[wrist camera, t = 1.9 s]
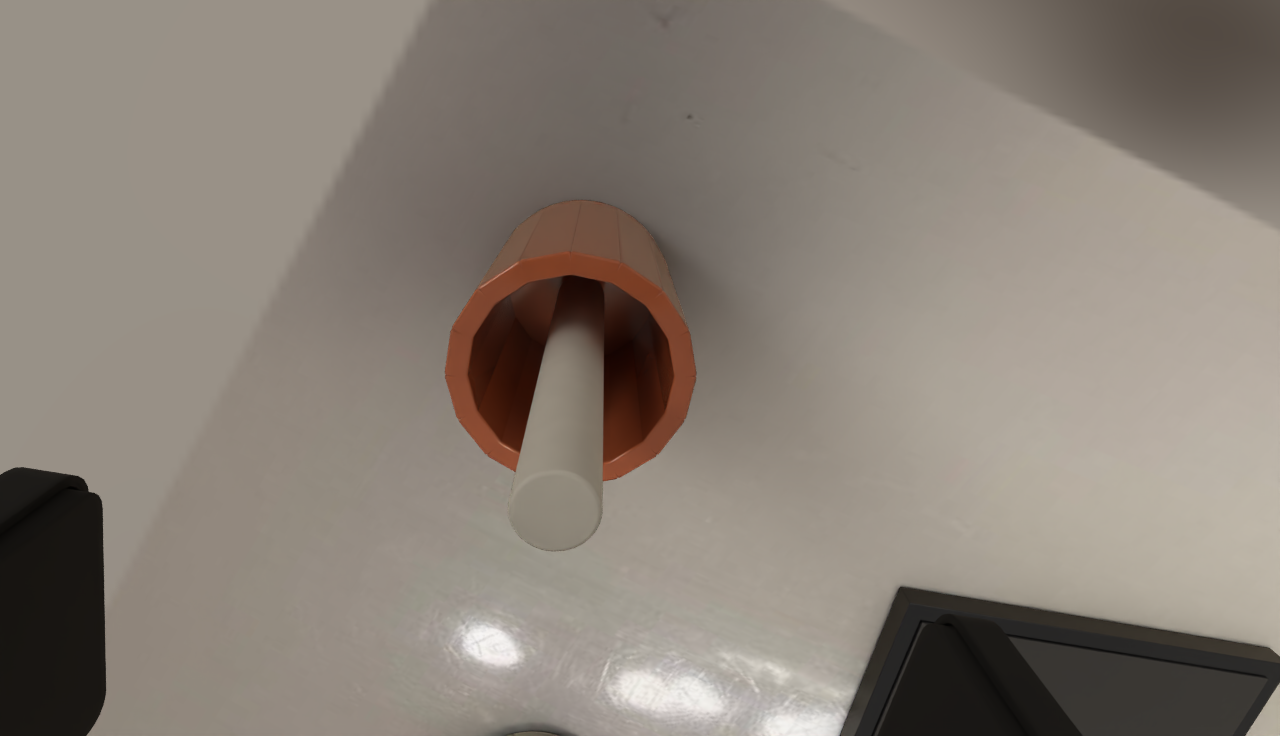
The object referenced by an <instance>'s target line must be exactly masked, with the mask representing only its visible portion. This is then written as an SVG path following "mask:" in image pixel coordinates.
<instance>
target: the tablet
mask: <svg viewBox="0 0 1280 736" xmlns="http://www.w3.org/2000/svg"><path fill="white" fill-rule="evenodd" d="M944 614H954V615H960V616H967V617H973V618H979V619H986V620H990V621H993V622H995V623H996V624H997V625H998V626H1000V627H1001V628H1002V630H1003V631H1004V632H1005V634H1006V635H1007V636H1008V638H1009V639H1010V640H1011V642H1012V643H1013V644H1014V646H1015V647H1016V648H1017V650H1018V651H1019V652H1020V654H1021V655H1022V656H1023V658H1024V659H1025V660H1026V661H1027V663H1028V664H1029V665H1030V667H1031V668H1032V669H1033V671H1034V672H1035V673H1036V675H1037V676H1038V677H1039V679H1040V680H1041V681H1042V683H1043V684H1044V685H1045V687H1046V688H1047V689H1048V691H1049V692H1050V693H1051V695H1052V696H1053V697H1054V698H1055V700H1056V701H1057V702H1058V704H1059V705H1060V706H1061V708H1062V709H1063V710H1064V712H1065V713H1066V714H1067V716H1068V717H1069V718H1070V720H1071V721H1072V722H1073V724H1074V725H1075V726H1076V728H1077V729H1078V730H1079V732H1080V733H1081V734H1082V735H1083V736H1245V735H1246V734H1247V732H1248V731H1249V729H1250V727H1251V726H1252V724H1253V723H1254V721H1255V720H1256V718H1257V717H1258V715H1259V714H1260V712H1261V710H1262V709H1263V707H1264V706H1265V704H1266V703H1267V701H1268V700H1269V698H1270V697H1271V695H1272V693H1273V692H1274V690H1275V689H1276V687H1277V686H1278V684H1279V683H1280V656H1279V655H1277V654H1276V653H1275V652H1274V651H1273V650H1271V649H1270V648H1265V647H1259V646H1253V645H1247V644H1241V643H1235V642H1229V641H1223V640H1217V639H1211V638H1205V637H1199V636H1193V635H1187V634H1181V633H1175V632H1169V631H1163V630H1157V629H1151V628H1145V627H1139V626H1133V625H1127V624H1121V623H1115V622H1109V621H1103V620H1097V619H1091V618H1085V617H1079V616H1073V615H1067V614H1061V613H1055V612H1049V611H1043V610H1037V609H1031V608H1025V607H1019V606H1013V605H1007V604H1001V603H995V602H989V601H983V600H977V599H971V598H965V597H959V596H953V595H947V594H941V593H935V592H929V591H923V590H917V589H911V588H905V587H900V589H899V591H898V594H897V596H896V599H895V601H894V604H893V606H892V609H891V611H890V614H889V616H888V619H887V621H886V623H885V626H884V628H883V631H882V633H881V636H880V638H879V641H878V643H877V646H876V648H875V650H874V653H873V655H872V658H871V660H870V663H869V665H868V668H867V670H866V673H865V675H864V678H863V680H862V682H861V685H860V687H859V690H858V692H857V695H856V697H855V700H854V702H853V705H852V707H851V709H850V712H849V714H848V717H847V719H846V722H845V724H844V727H843V729H842V732H841V734H840V736H877V735H878V733H879V730H880V728H881V726H882V723H883V721H884V718H885V716H886V714H887V711H888V709H889V707H890V704H891V702H892V699H893V697H894V695H895V692H896V690H897V687H898V685H899V683H900V680H901V678H902V676H903V673H904V671H905V668H906V666H907V664H908V661H909V659H910V656H911V654H912V652H913V649H914V647H915V644H916V642H917V640H918V637H919V635H920V633H921V631H922V629H923V628H924V627H925V626H926V625H927V624H934V623H935V622H936V620H937V619H938V618H939V617H940V616H941V615H944Z"/></svg>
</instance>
